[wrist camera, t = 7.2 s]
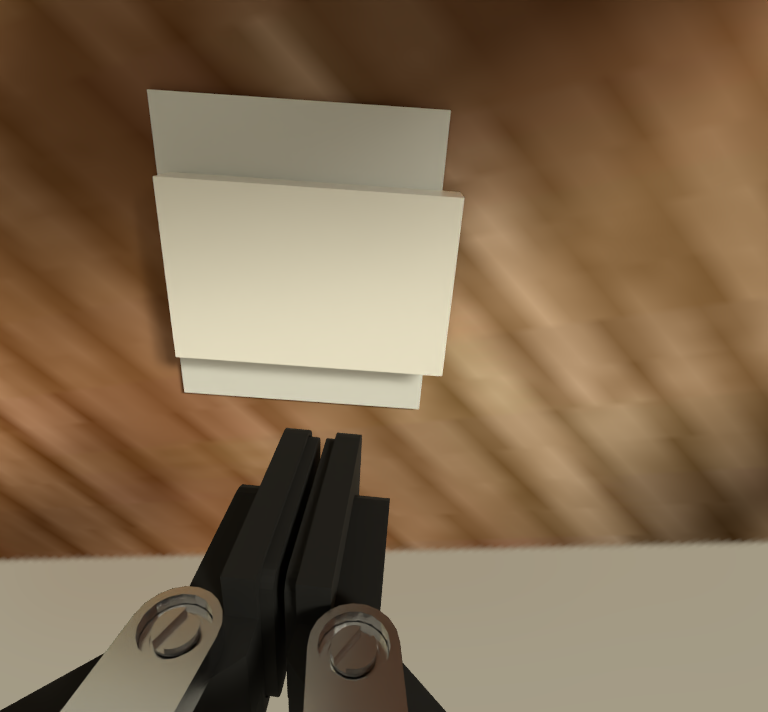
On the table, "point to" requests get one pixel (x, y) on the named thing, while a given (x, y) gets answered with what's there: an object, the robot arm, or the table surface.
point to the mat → (301, 163)
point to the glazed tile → (308, 271)
